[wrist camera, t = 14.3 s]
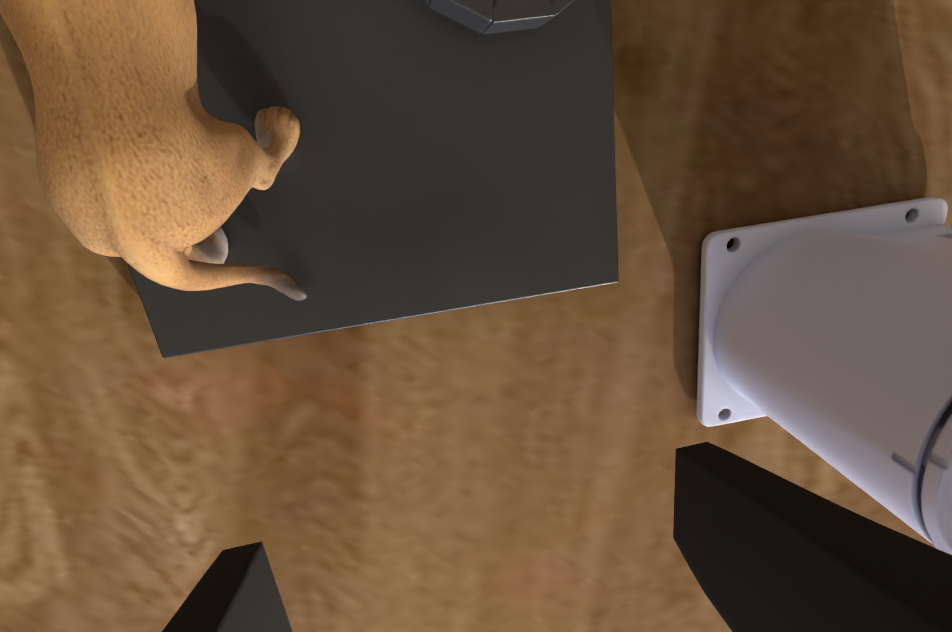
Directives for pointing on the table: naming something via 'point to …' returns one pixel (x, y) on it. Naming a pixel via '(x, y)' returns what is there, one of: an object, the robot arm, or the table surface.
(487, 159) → the scale
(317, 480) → the table surface
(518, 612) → the table surface
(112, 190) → the lion figurine
